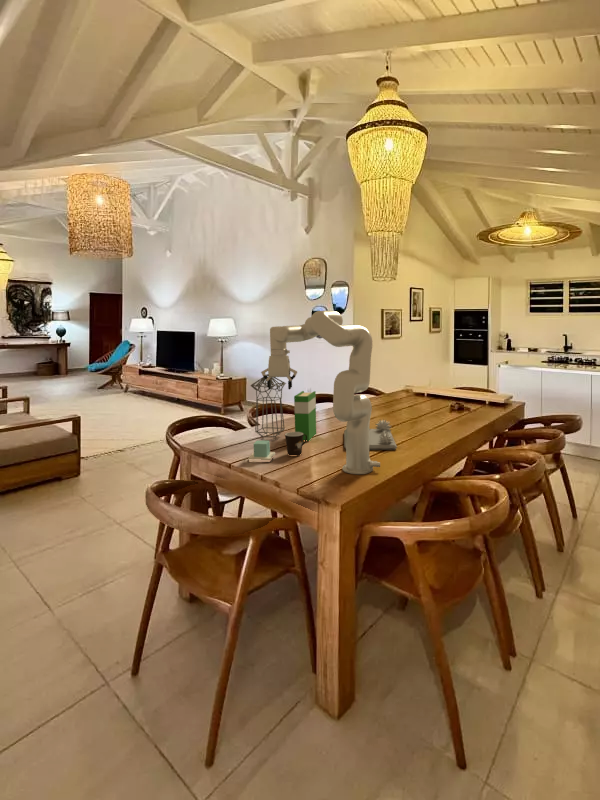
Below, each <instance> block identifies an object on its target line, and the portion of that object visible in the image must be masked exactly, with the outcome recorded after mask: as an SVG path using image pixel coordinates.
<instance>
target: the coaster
mask: <svg viewBox="0 0 600 800" xmlns="http://www.w3.org/2000/svg"><path fill="white" fill-rule="evenodd" d="M274 455H275V456H276V452H275V451H270V454H269V455H268V456H267V457H254V451H253V452H252V453H251V454H250V455H249V456H248V459H261V460H271V458H272V457H273V456H274Z"/></svg>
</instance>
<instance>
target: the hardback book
mask: <svg viewBox="0 0 600 800" xmlns="http://www.w3.org/2000/svg"><path fill="white" fill-rule="evenodd" d="M316 394H317V393H316V391H315V390H314V391H312V392H305V391H304V390H302V391H300V392H299V393H296V394H295V395H294V397H293V400H294V401H293V402H294V404H293V405H294V432H301V433H303V434H305V435H307V441H309V440H310V439H311V438H312V437H313V436H314V435H315V434H316V435H317V404H316V403H317V402H316V399H317V398H316ZM305 435H304V436H303V440H306V436H305ZM316 435H315V436H316ZM315 436H314V437H315ZM314 437H313V438H314ZM313 438H312V439H313ZM312 439H311V440H312ZM311 440H310V441H311Z"/></svg>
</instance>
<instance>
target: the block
mask: <svg viewBox="0 0 600 800" xmlns="http://www.w3.org/2000/svg"><path fill="white" fill-rule="evenodd" d="M253 452H254V457H267V456H268V455H269V454H270V452H271V441H269V440H261V439H260V440H257V439H256V441H254V443H253Z"/></svg>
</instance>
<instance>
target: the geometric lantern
mask: <svg viewBox="0 0 600 800" xmlns="http://www.w3.org/2000/svg"><path fill="white" fill-rule="evenodd" d="M265 374H266V373H265ZM266 376H267V377H268V376H269V375H268V373H267V374H266ZM270 380H271V389H266V388H268V387H267V381H266V379H265V378H264V377H263V376H262V377H261V378H260V379H257V381H255V382H253V383H252V384H251V385H250V387H251V388H253V390H255V395H256V400H255V402H256V403H255V428H254V430H255V431H254V432H255V433H257V434H258V435H259V436H260V438H261V437H265V438H268V437H269V438H274V439H277V437H276V436H278V435H280V434H281V433H283V432H284V431H285V421H284V412H283V403H282V398H283V389H284V387H285V385H286V384H287V382H285V381H283V380H281V379H279V377H272V378H271V379H270ZM278 381H279V382H278ZM274 387H276V388H274ZM261 388H264V390H262V391H261ZM273 390H274V391H275V392H276V393H275V396H274V397H273V396H272V397H271V396H270V394H271V392H272V391H273ZM268 391H269V392H268ZM278 392H280V396H279V393H278ZM262 393H266V397H265V396H263V395H262ZM260 395H261V397H260V398H259V396H260ZM276 395H277V397H276ZM261 401H262V415H261V416H262V419H261V420H262V423H261V428H259V402H261ZM276 401H279V406H280V407H279V410H280V426H281V427H279V426H278V416H277V415H278V414H277V405H276ZM268 402H270V407H271V408H270V409H271V425H272V427H268ZM273 403H274V412H275V423H276V427H274V416H273V415H274V413H273ZM264 406H266V407H265V409H264ZM264 410H265V411H264ZM264 412H265V413H266V414H265V415H266V417H265V418H266V421H265V423H266V427H264ZM265 429H272V431H271V432H269V431H265ZM279 429H280V430H279ZM261 430H263V431H261ZM275 430H276V431H275ZM267 433H269V434H272V435H268V434H267ZM265 434H266V436H265Z"/></svg>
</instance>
